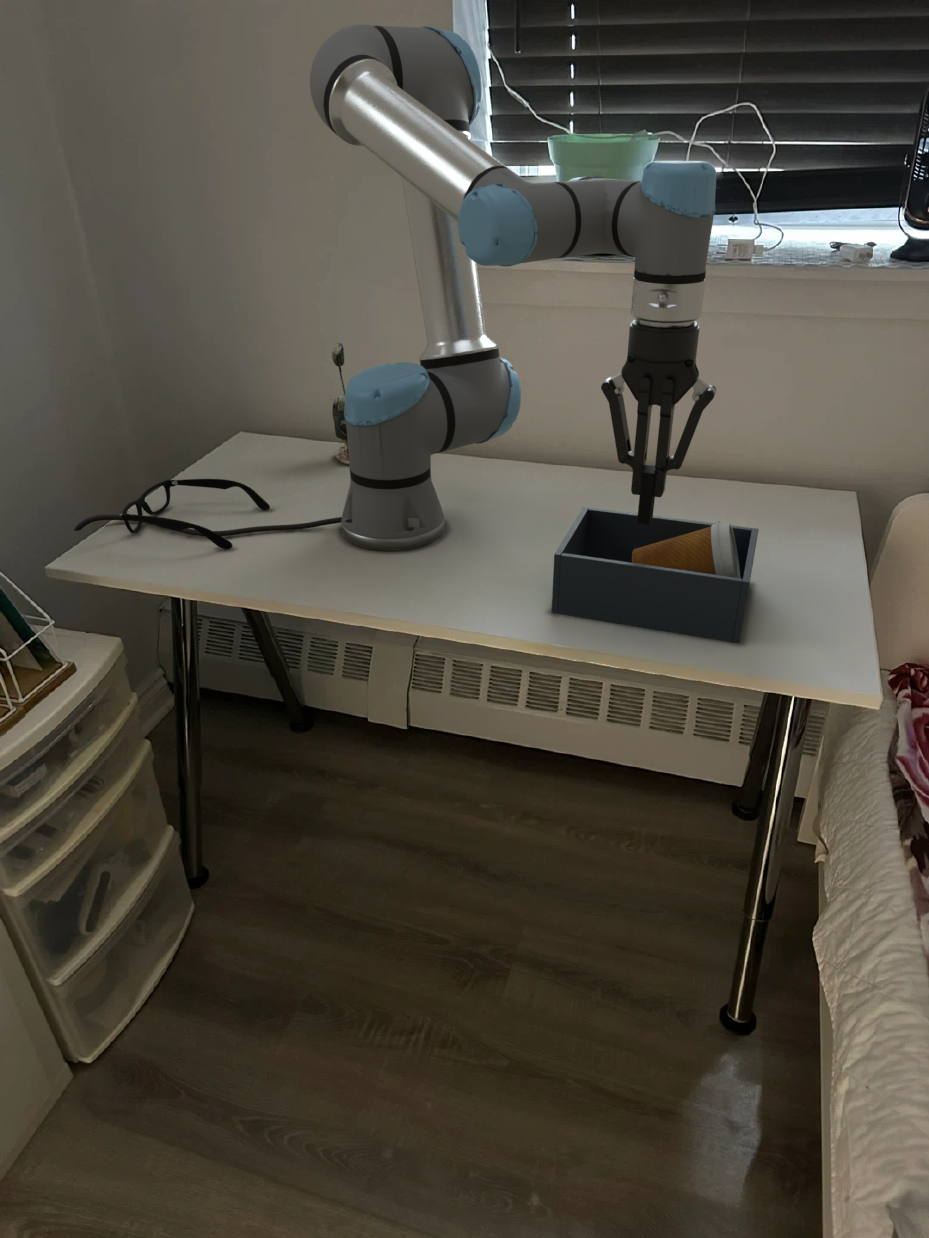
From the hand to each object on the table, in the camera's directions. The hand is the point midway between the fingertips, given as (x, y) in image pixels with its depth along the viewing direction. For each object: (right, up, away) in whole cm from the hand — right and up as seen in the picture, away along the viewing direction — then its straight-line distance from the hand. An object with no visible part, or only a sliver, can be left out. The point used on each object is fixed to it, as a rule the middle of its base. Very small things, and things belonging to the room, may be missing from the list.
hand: (644, 519), depth 108 cm
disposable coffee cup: (0, -6, +4) cm, 8 cm away
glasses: (-63, +2, +26) cm, 68 cm away
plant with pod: (-42, +16, +51) cm, 68 cm away
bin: (+2, -10, +5) cm, 11 cm away
